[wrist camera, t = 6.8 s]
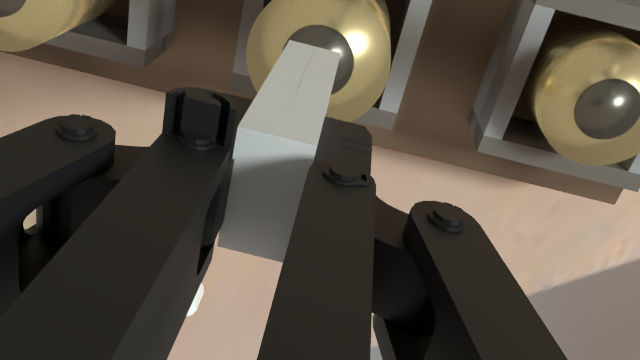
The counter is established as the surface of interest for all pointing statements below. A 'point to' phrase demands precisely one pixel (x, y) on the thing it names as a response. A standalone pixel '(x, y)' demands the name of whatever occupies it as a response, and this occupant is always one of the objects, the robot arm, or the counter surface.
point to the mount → (403, 82)
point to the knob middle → (328, 46)
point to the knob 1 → (43, 20)
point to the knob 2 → (586, 92)
